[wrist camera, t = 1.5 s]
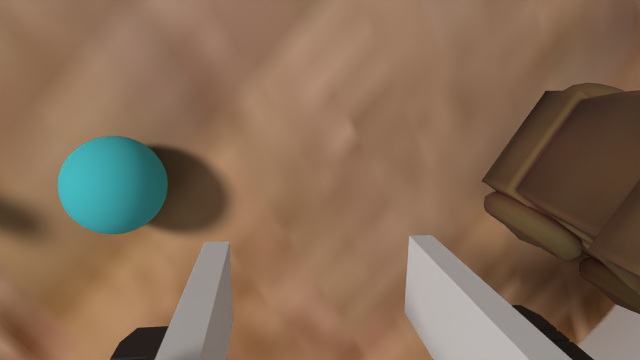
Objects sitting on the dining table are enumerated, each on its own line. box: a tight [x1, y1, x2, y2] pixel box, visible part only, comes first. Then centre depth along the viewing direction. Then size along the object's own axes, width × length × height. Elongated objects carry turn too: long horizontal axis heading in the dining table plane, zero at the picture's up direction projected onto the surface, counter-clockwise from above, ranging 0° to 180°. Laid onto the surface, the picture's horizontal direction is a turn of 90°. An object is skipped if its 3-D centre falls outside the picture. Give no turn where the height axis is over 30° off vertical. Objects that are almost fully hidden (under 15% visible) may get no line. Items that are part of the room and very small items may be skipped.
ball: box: [58, 136, 168, 234], centre depth 25 cm, size 6×6×6 cm
